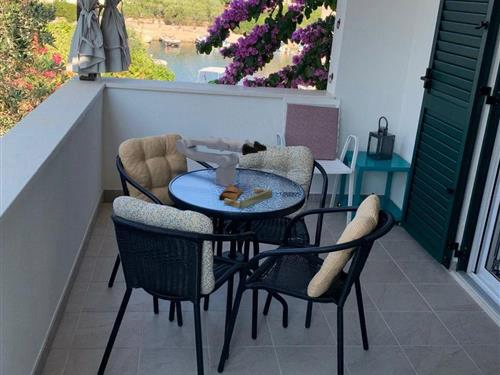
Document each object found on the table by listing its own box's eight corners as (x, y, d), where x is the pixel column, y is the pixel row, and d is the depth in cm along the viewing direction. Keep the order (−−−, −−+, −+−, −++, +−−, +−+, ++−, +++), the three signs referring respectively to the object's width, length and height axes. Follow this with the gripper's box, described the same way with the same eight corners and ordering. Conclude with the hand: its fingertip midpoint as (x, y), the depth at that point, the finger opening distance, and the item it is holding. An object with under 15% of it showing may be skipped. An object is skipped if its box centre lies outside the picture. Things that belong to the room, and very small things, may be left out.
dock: (224, 204, 259) (224, 196, 258) (254, 192, 280) (255, 185, 279) (242, 209, 254) (242, 201, 253) (272, 196, 274) (272, 189, 273)
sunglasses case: (236, 202, 263) (230, 189, 261) (223, 208, 265) (217, 195, 264) (244, 191, 280) (238, 179, 278) (232, 197, 282) (226, 185, 281)
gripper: (230, 140, 274) (253, 143, 267) (247, 136, 286) (270, 139, 278) (230, 154, 276) (253, 158, 268) (247, 150, 287) (269, 153, 280)
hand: (261, 149), depth 273 cm, fingers open, 7 cm apart
